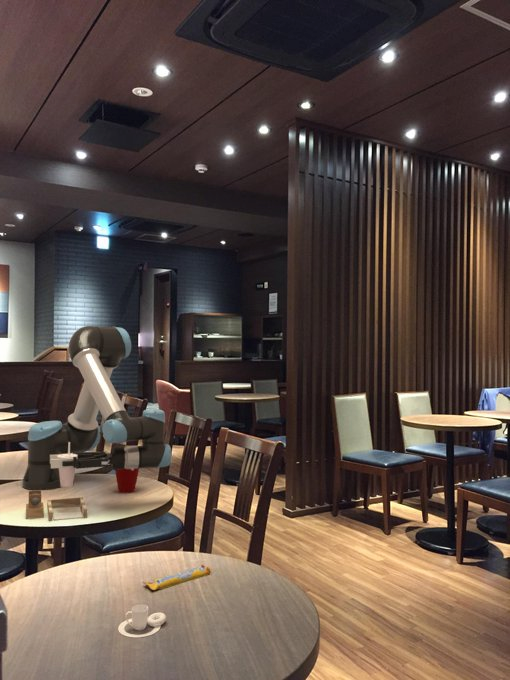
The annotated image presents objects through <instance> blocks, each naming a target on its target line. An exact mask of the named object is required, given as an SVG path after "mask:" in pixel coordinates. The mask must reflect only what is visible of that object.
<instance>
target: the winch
mask: <svg viewBox="0 0 510 680" xmlns="http://www.w3.org/2000/svg"><path fill="white" fill-rule="evenodd" d="M44 508H45V507H44V502H42V490H29V491H28V503H25V519H26V520H27V519H39V518H44V510H45V509H44Z"/></svg>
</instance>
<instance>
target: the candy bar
mask: <svg viewBox="0 0 510 680" xmlns="http://www.w3.org/2000/svg"><path fill="white" fill-rule="evenodd" d="M205 568H206V569H205ZM211 573H212V569H210V568H209V567H208V566H207V567H206V566H205V565H204V564H201V565H200V566H199V567H195V568H192V569H188V570H185V571H182V572H179V573H175V574H171V575H167V576H163V577H159V578H156V579H152V580H150V581H148V582H145V581H143V582H142V584H145V585H146V586H147V587H148V588H149V589H150V590H152V591H155V590H162V589H165V588H169V587H172V586H176V585H179V584H182V583H185V582H188V581H189V582H190V581H192V580H196V579H199V578H202V577H205V576H208V575H210V574H211Z"/></svg>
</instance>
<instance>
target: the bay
mask: <svg viewBox="0 0 510 680" xmlns="http://www.w3.org/2000/svg"><path fill="white" fill-rule="evenodd" d="M67 507H79V508H80V512H81V513H82V516H83V518H84V519H87V518H88V507H87V505H86V503H85V500H84V497H81V496H80V497H70V498H69V497H68V498H67V497H65V498H58V499H56V498H55V499H47V507H46V509H47V514H48V515H47V516H48V521H49V522H53V521H54V519H53V514H54V512H53V509H54V508H67ZM83 518H82V519H83Z"/></svg>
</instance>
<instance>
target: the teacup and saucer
mask: <svg viewBox="0 0 510 680" xmlns="http://www.w3.org/2000/svg"><path fill="white" fill-rule="evenodd" d="M129 614H130V615H131V618H129V619H128V618H127V616H128V615H129ZM148 615H149V606H148V605H146V604H137V605H134V606H132V607H131V611H130V610H129V611H127V612H126V613H125V615H124V616H125V617H124V618H125V620H124V621H122V622H121V623H120V624H119V625H118V629H117V631H118V632H119V634H120V635H122V636H124V637H127V638H132V639H133V638H135V639H136V638H137V639H139V638H145V637H150V636H152V635H154V634H156V633H158V632H159V631H160V629H161V626H162V625H163V624H165V622H166V620H167V616H166V614H165V613H163V612H155V613H152V614H150V615H149V616H148ZM127 625H129V626H131V628H133V629H134V630H135V631H144V630H145V629H146V627H147V625H148V626H150V627H152V628H153V629H152V630H151V631H149V632H146V633H143V634H133V633H129V632H127V631H126V629H125V627H126V626H127Z"/></svg>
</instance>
